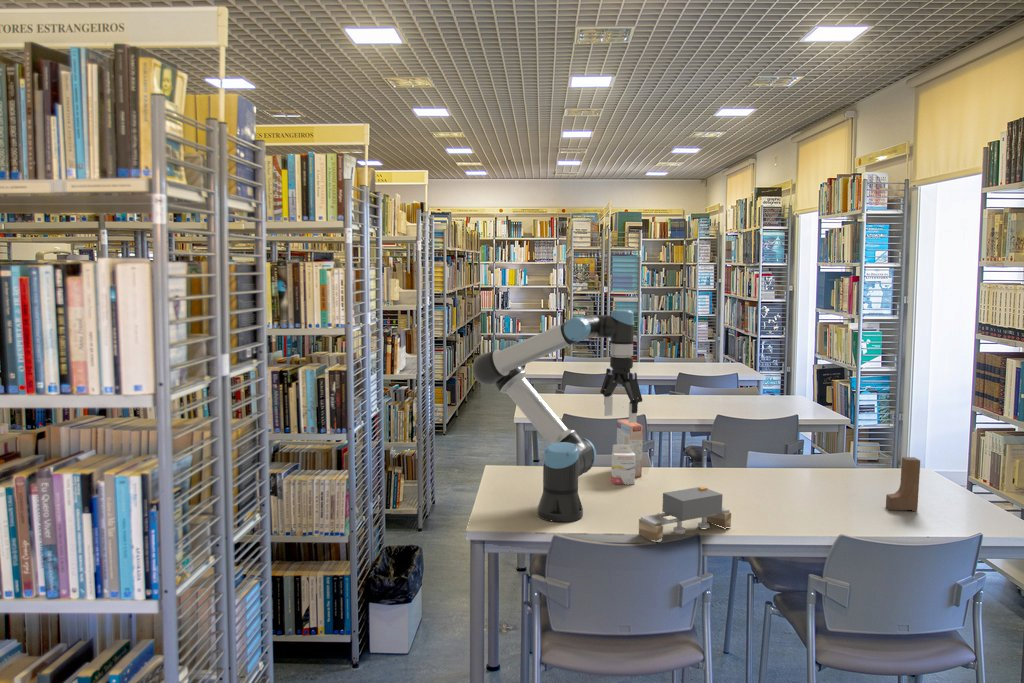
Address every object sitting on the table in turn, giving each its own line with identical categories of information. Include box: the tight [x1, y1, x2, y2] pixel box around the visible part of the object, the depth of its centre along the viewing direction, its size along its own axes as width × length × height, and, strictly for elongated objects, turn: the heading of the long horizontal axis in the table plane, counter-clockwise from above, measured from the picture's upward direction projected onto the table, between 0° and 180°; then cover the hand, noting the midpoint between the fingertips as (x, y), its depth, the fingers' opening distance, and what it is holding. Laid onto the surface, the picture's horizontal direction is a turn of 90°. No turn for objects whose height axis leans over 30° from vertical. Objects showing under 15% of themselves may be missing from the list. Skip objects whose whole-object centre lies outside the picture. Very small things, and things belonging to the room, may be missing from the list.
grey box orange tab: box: [661, 486, 723, 535], centre depth 236 cm, size 16×9×12 cm, turn 118°
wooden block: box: [885, 456, 921, 512], centre depth 260 cm, size 9×4×18 cm, turn 86°
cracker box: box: [616, 418, 644, 478], centre depth 303 cm, size 14×6×21 cm, turn 13°
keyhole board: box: [638, 506, 732, 541], centre depth 235 cm, size 30×8×6 cm, turn 118°
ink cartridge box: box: [610, 444, 636, 486], centre depth 289 cm, size 9×5×15 cm, turn 92°
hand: (620, 419), depth 252 cm, fingers open, 13 cm apart
